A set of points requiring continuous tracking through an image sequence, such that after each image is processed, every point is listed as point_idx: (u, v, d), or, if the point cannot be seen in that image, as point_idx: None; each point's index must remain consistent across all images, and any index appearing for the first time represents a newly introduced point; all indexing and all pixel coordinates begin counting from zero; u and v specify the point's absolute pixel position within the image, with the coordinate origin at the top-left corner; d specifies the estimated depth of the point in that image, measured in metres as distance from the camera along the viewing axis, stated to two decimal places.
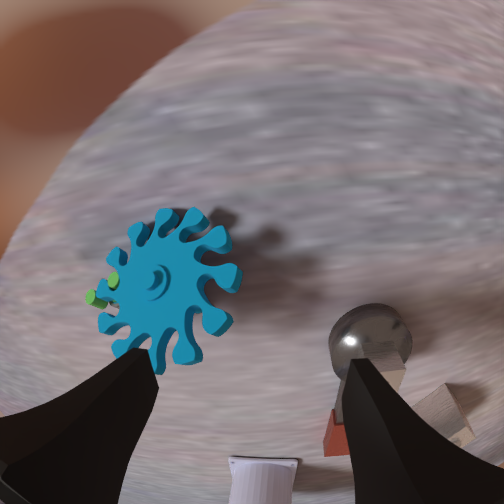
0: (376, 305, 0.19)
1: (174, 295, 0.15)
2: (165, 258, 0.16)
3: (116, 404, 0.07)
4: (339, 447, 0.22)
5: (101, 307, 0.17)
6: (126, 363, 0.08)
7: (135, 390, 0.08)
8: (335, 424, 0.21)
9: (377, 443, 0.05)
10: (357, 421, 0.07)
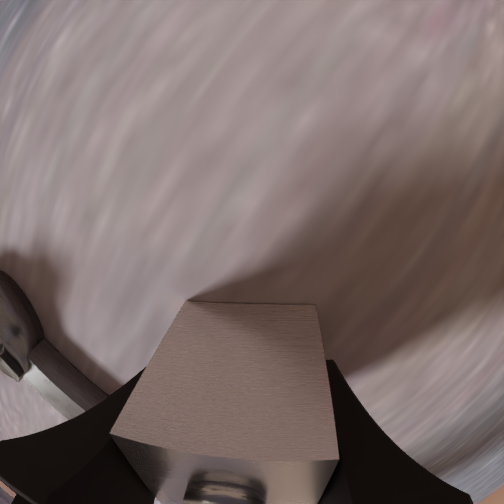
0: None
1: None
2: None
3: None
4: None
5: None
6: None
7: None
8: None
9: None
10: None
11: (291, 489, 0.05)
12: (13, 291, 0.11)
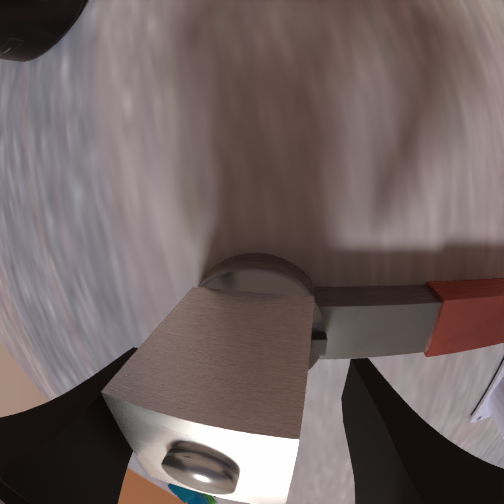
0: None
1: None
2: None
3: None
4: (491, 328, 0.11)
5: (213, 503, 0.17)
6: None
7: None
8: (425, 353, 0.12)
9: (377, 443, 0.05)
10: (357, 421, 0.07)
11: (259, 467, 0.05)
12: (255, 257, 0.12)
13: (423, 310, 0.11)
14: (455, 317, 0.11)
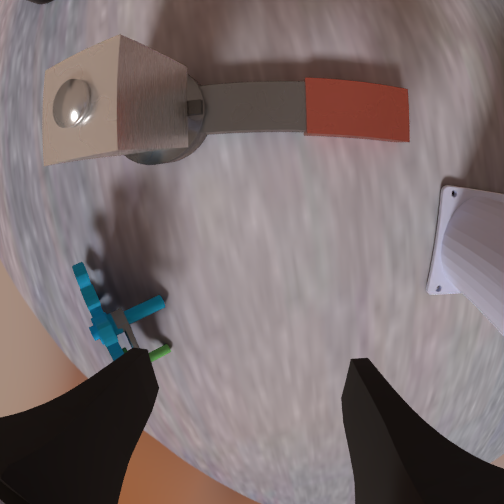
0: None
1: None
2: None
3: (116, 404, 0.07)
4: (380, 116, 0.13)
5: None
6: (126, 363, 0.08)
7: (135, 390, 0.08)
8: (306, 131, 0.14)
9: (377, 443, 0.05)
10: (358, 421, 0.07)
11: (102, 75, 0.08)
12: None
13: (288, 87, 0.14)
14: (324, 94, 0.13)
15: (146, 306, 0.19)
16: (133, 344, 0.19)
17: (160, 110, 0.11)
